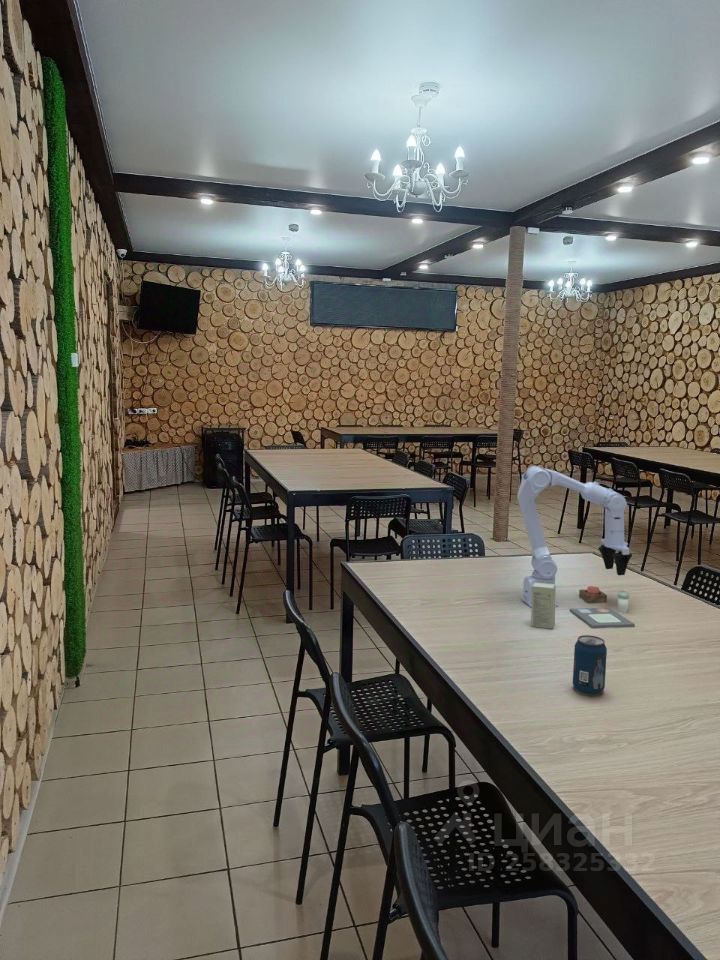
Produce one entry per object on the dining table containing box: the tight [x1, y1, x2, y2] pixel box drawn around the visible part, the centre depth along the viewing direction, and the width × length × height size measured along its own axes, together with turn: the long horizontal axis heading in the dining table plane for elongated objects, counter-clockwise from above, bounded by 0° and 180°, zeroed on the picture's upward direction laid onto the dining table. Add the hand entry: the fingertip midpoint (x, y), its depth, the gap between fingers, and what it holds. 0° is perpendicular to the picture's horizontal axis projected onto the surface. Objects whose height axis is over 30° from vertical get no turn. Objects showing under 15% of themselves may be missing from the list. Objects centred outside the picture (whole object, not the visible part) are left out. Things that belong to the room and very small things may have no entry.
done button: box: [586, 585, 600, 594], centre depth 220 cm, size 4×4×3 cm
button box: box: [578, 589, 608, 604], centre depth 220 cm, size 6×6×2 cm
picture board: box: [569, 607, 636, 629], centre depth 202 cm, size 13×15×1 cm
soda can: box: [572, 634, 608, 697], centre depth 153 cm, size 7×7×12 cm
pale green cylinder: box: [616, 590, 630, 614], centre depth 209 cm, size 3×3×6 cm
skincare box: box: [530, 583, 557, 629], centre depth 195 cm, size 6×4×12 cm
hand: (615, 571), depth 214 cm, fingers open, 7 cm apart
